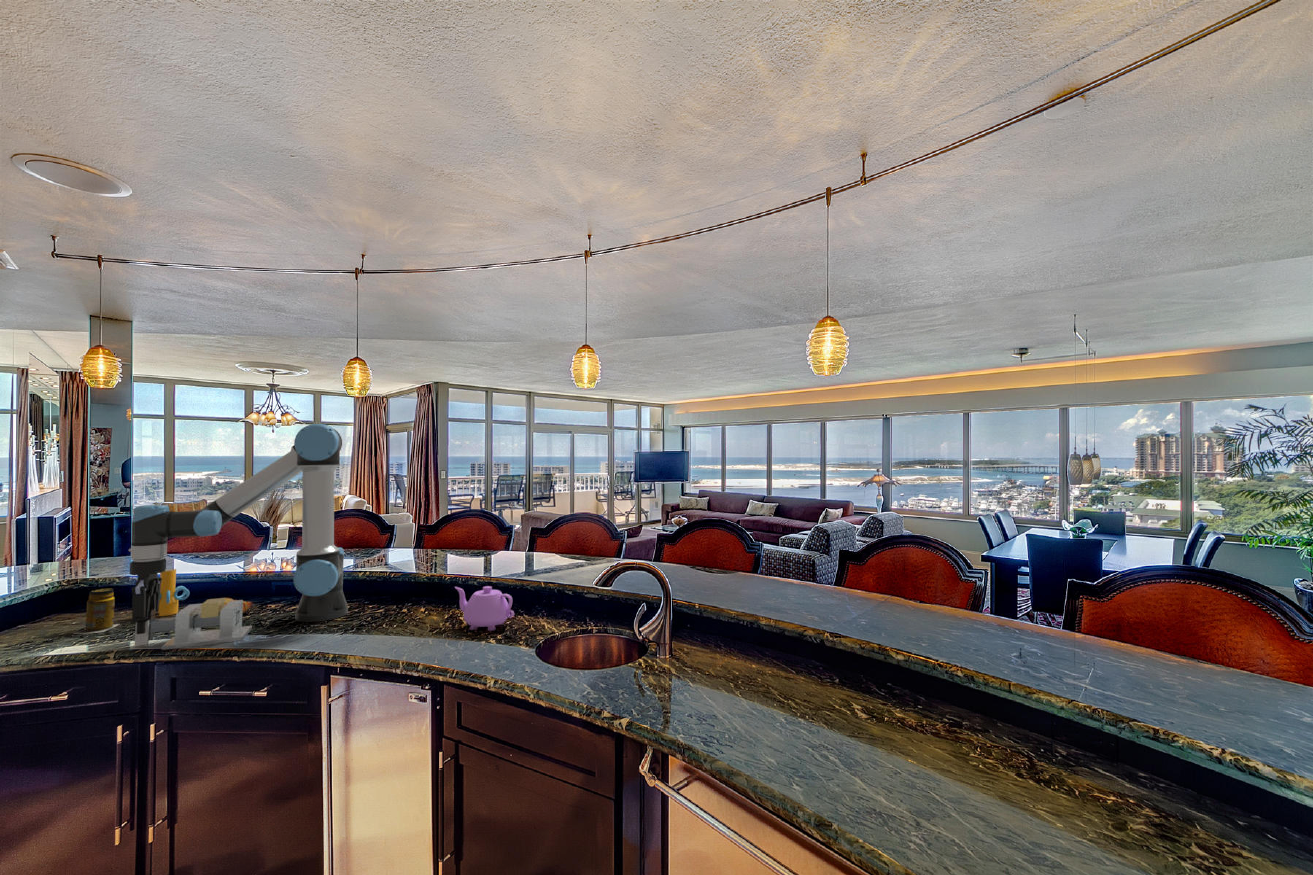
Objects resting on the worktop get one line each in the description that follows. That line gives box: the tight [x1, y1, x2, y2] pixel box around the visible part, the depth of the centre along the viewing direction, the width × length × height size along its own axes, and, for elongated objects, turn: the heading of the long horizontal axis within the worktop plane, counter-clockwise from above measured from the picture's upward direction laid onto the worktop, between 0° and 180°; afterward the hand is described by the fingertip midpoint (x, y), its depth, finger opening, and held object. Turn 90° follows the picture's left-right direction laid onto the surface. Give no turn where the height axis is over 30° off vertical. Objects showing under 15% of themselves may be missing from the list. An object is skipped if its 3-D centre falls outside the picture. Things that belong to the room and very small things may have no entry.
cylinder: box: [156, 568, 190, 617], centre depth 182 cm, size 12×10×15 cm
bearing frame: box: [161, 599, 253, 651], centre depth 157 cm, size 18×12×9 cm, turn 116°
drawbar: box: [134, 609, 239, 641], centre depth 155 cm, size 23×3×8 cm, turn 116°
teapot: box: [454, 585, 515, 632], centre depth 171 cm, size 20×14×12 cm
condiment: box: [72, 588, 121, 635], centre depth 165 cm, size 7×8×12 cm
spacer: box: [201, 597, 226, 618], centre depth 157 cm, size 4×6×4 cm, turn 26°
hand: (144, 642), depth 150 cm, fingers closed on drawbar, 3 cm apart
